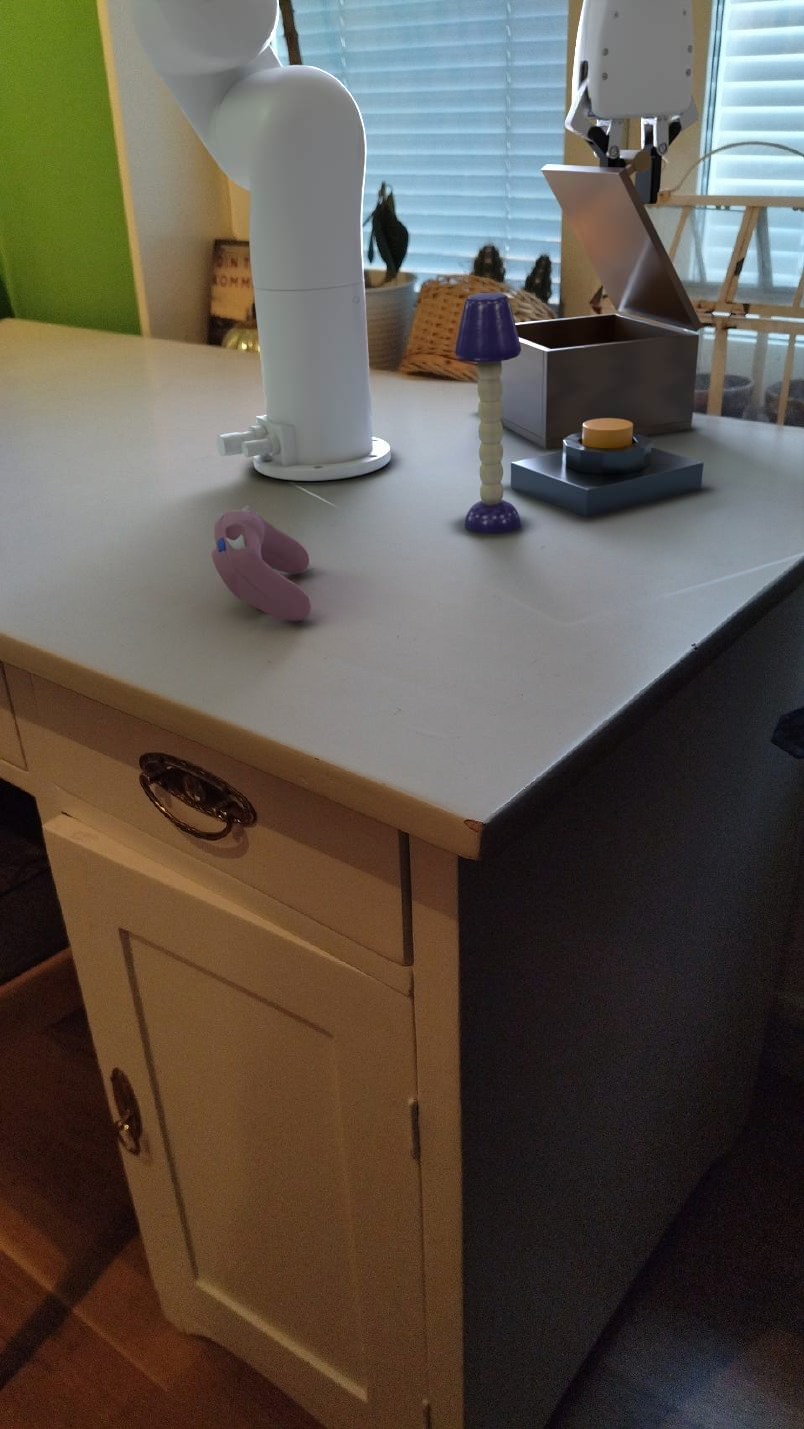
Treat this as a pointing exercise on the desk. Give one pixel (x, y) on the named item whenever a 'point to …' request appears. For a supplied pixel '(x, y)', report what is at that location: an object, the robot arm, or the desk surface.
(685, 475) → the control block
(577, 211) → the lid
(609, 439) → the button
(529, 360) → the brown square box
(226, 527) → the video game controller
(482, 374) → the toy lamp
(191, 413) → the desk surface
